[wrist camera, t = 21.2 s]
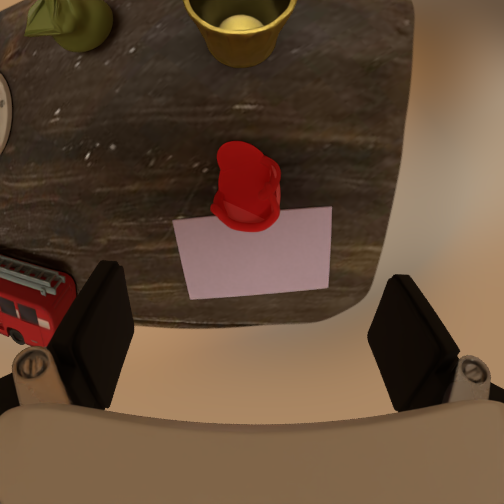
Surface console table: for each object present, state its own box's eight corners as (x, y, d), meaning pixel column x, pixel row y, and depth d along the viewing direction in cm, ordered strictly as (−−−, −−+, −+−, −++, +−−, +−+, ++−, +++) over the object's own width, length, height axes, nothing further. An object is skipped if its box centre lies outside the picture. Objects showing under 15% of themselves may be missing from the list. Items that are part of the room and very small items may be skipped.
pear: (128, 5, 20) (80, -24, 11) (114, 54, 22) (58, 45, 13) (80, 6, 19) (21, -14, 10) (67, 53, 21) (3, 50, 12)
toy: (-26, 285, 34) (-37, 230, 30) (83, 322, 38) (78, 262, 33) (-52, 314, 27) (-70, 256, 23) (61, 364, 30) (48, 301, 26)
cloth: (190, 297, 36) (190, 299, 35) (173, 219, 31) (172, 220, 30) (327, 286, 35) (328, 287, 35) (331, 205, 30) (332, 206, 30)
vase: (284, 59, 23) (324, 31, 11) (216, 76, 24) (190, 61, 12) (265, 1, 20) (286, -70, 8) (198, 18, 21) (158, -40, 9)
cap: (217, 247, 28) (215, 199, 31) (283, 240, 28) (273, 193, 31) (203, 182, 21) (204, 134, 25) (288, 174, 21) (275, 128, 25)
